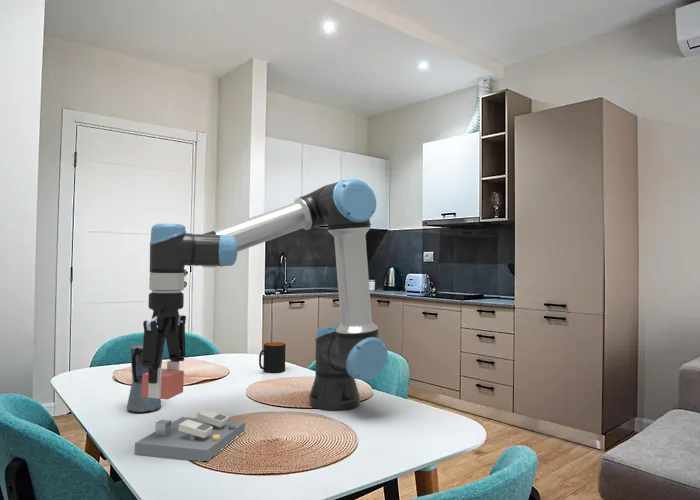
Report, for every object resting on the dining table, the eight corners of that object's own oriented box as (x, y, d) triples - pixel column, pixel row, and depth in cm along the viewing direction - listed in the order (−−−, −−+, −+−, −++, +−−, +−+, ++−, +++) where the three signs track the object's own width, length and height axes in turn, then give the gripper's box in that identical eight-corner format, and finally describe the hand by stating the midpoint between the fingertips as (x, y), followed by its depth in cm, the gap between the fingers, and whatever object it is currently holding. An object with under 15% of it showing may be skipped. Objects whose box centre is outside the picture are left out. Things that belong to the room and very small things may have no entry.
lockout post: (170, 433, 117) (171, 420, 117) (164, 437, 114) (165, 423, 114) (161, 432, 117) (161, 419, 117) (155, 436, 115) (155, 422, 115)
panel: (244, 432, 125) (244, 418, 125) (206, 462, 107) (207, 444, 107) (181, 427, 129) (181, 412, 129) (134, 454, 110) (135, 437, 111)
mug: (251, 373, 193) (251, 345, 193) (274, 368, 202) (274, 341, 202) (266, 376, 188) (267, 347, 188) (289, 370, 197) (290, 343, 197)
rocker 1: (211, 432, 115) (213, 426, 115) (204, 438, 112) (205, 431, 112) (186, 425, 117) (187, 418, 117) (178, 430, 113) (179, 423, 113)
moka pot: (170, 402, 151) (171, 334, 152) (151, 418, 136) (153, 342, 137) (137, 402, 151) (139, 334, 152) (115, 417, 136) (117, 342, 136)
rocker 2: (227, 422, 123) (228, 416, 123) (220, 427, 119) (222, 421, 119) (203, 414, 124) (205, 408, 124) (196, 418, 121) (197, 412, 121)
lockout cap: (183, 392, 118) (183, 370, 118) (167, 399, 112) (168, 376, 112) (158, 389, 120) (159, 368, 120) (141, 396, 114) (142, 374, 114)
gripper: (174, 289, 127) (172, 382, 126) (124, 293, 108) (121, 403, 107) (202, 290, 125) (200, 384, 125) (156, 294, 106) (153, 406, 106)
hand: (163, 393), depth 116 cm, fingers closed on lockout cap, 6 cm apart
